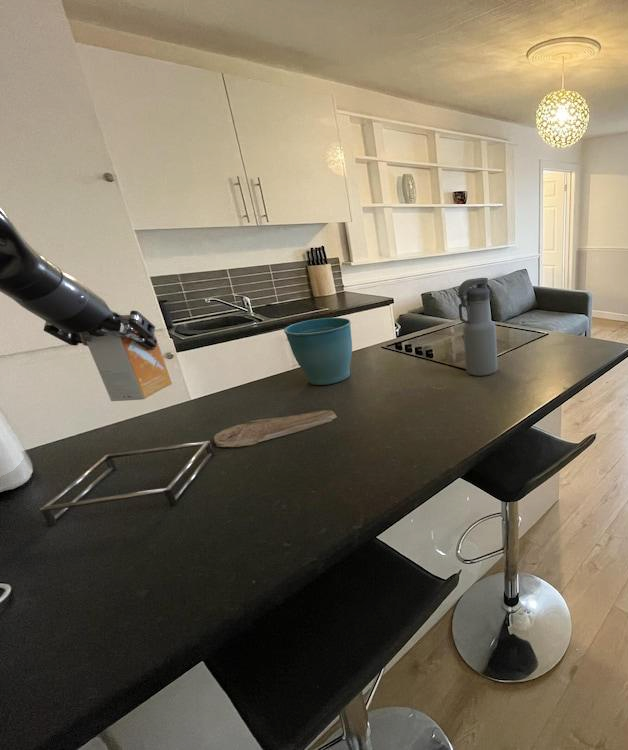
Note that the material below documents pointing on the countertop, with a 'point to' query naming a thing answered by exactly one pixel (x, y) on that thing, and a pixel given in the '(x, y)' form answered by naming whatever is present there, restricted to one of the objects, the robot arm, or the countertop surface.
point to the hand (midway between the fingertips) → (131, 347)
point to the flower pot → (322, 348)
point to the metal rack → (168, 491)
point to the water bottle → (478, 328)
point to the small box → (128, 367)
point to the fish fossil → (270, 428)
